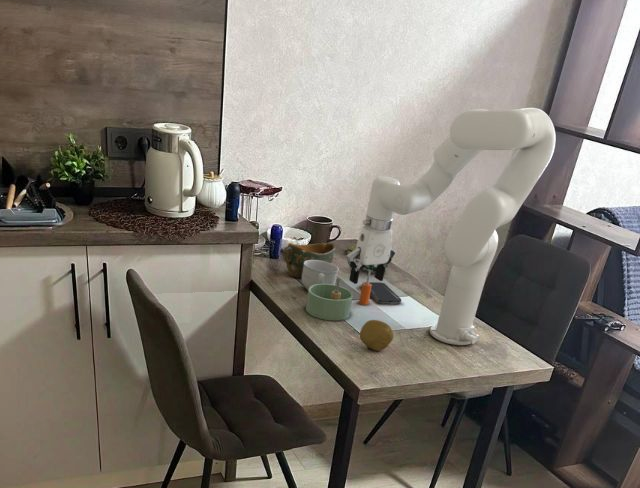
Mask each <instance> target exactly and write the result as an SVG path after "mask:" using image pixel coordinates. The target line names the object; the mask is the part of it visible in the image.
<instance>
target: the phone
mask: <svg viewBox="0 0 640 488" xmlns="http://www.w3.org/2000/svg"><path fill="white" fill-rule="evenodd" d="M363 283H366V281H365V282H364V281H363V282H362V283H361V285H362V284H363ZM369 283H370V284H372V287H371V292H370V297H371V298H372V299H373V300H374V301H375V302H376V303H377V304H379V305H400V304H401V303H402V298H401V297H400V296H398V295H397V294H396V292H394V291H393V290H392V289H391V288H390V287H389V286H388V285H387V284H386V283H384V282H382V281H379V282H377V281H373V282H371V281H369Z"/></svg>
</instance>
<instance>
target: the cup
mask: <svg viewBox="0 0 640 488" xmlns="http://www.w3.org/2000/svg"><path fill="white" fill-rule="evenodd" d="M335 251H336V246H335V244H334V243H330V242H318V243H311V244H297V243H292V242H289V243H288V244H287V246H285V247H284V248H283V249H282V253H281V254H282V258H283V261H284V262H285V264H286V269H287V271H288V273H289V275H290V276H291V277H294V278H297V279H302V272H303V267H304V262H305V261H307V260H320V261H325V262H328V263H331V264H332V262H333V259H334V255H335V253H336V252H335Z"/></svg>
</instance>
